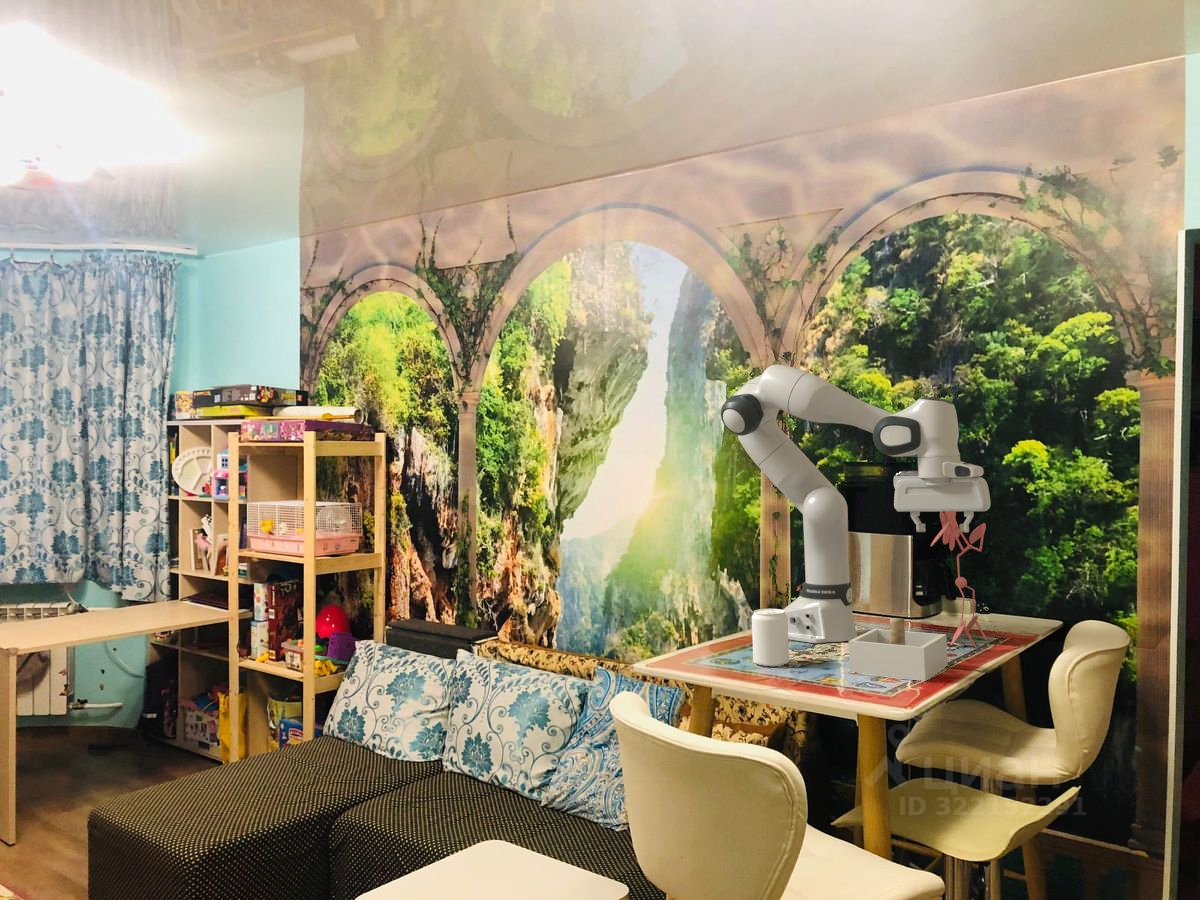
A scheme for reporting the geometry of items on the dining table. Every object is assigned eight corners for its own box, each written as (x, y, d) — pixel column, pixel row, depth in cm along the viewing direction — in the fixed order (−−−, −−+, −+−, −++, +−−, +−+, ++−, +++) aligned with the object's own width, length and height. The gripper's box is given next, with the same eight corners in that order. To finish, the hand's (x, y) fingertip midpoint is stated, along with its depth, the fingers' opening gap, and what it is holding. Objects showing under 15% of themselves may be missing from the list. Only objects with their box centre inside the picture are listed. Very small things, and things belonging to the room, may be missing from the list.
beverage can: (746, 662, 210) (744, 610, 210) (776, 658, 213) (773, 607, 213) (766, 669, 202) (764, 615, 202) (796, 664, 205) (794, 611, 205)
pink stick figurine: (1000, 634, 230) (991, 496, 231) (968, 654, 210) (958, 503, 211) (939, 630, 239) (930, 498, 240) (903, 648, 219) (893, 504, 220)
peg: (889, 665, 197) (887, 619, 197) (894, 663, 199) (892, 617, 199) (903, 667, 195) (901, 620, 195) (907, 664, 197) (906, 618, 197)
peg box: (849, 673, 195) (848, 641, 195) (875, 659, 208) (874, 628, 208) (925, 682, 186) (923, 648, 186) (947, 666, 199) (946, 634, 199)
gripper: (888, 471, 205) (891, 532, 205) (982, 468, 192) (986, 533, 192) (898, 470, 210) (901, 530, 210) (990, 467, 197) (994, 531, 197)
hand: (942, 532), depth 201 cm, fingers open, 8 cm apart
